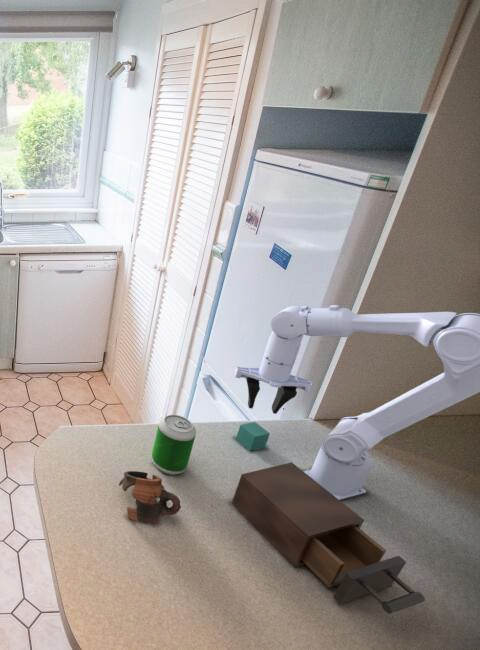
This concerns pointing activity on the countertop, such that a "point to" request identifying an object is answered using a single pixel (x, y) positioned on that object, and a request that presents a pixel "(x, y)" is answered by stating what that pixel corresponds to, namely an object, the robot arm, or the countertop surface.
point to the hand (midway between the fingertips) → (261, 408)
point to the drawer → (357, 567)
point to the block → (252, 436)
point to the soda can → (173, 444)
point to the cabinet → (290, 508)
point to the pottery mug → (148, 497)
